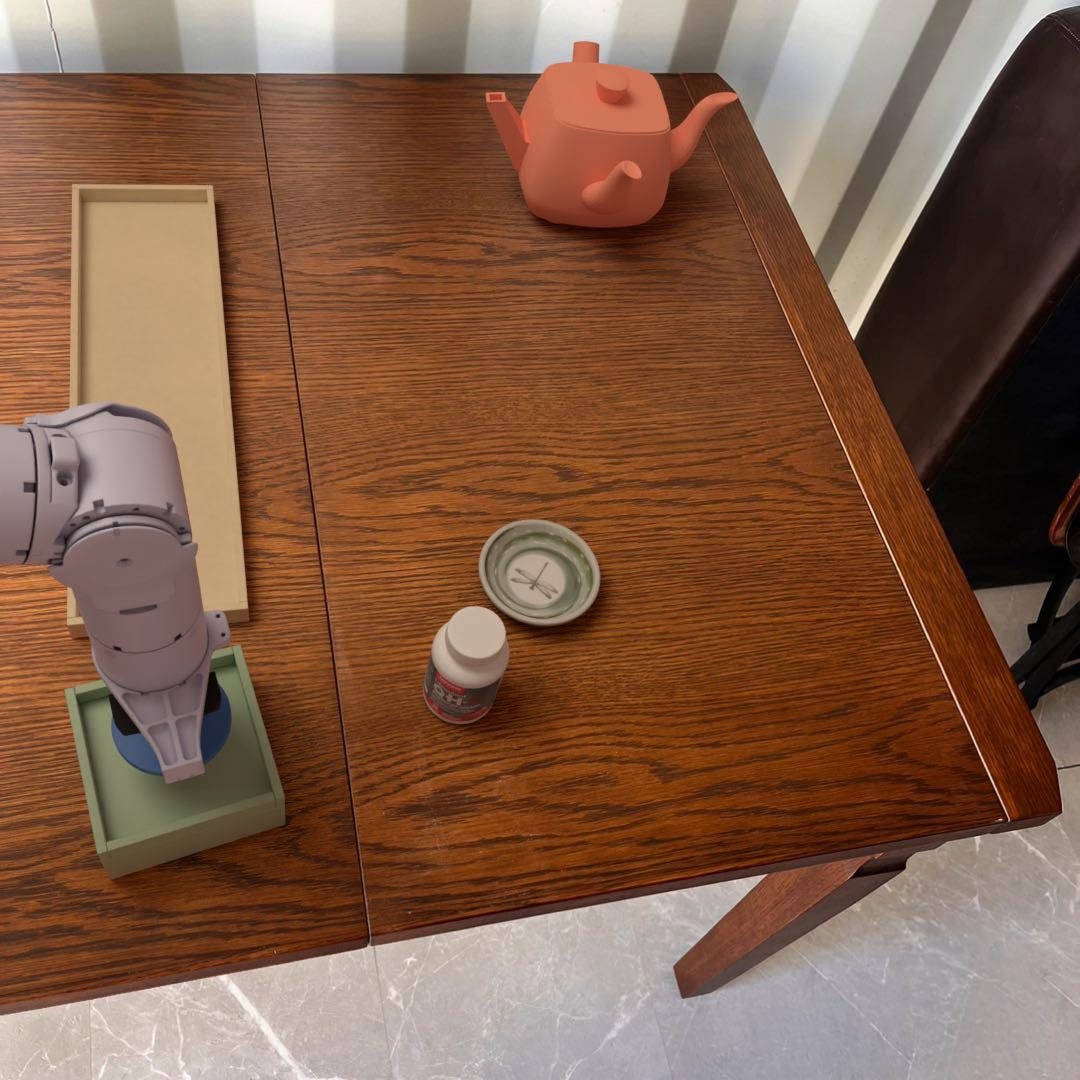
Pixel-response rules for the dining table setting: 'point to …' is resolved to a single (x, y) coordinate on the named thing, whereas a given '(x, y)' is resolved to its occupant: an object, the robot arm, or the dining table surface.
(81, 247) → the tray
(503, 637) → the pill bottle
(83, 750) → the green square tray
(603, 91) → the teapot
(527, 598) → the saucer
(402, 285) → the dining table surface
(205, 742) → the blue lid
